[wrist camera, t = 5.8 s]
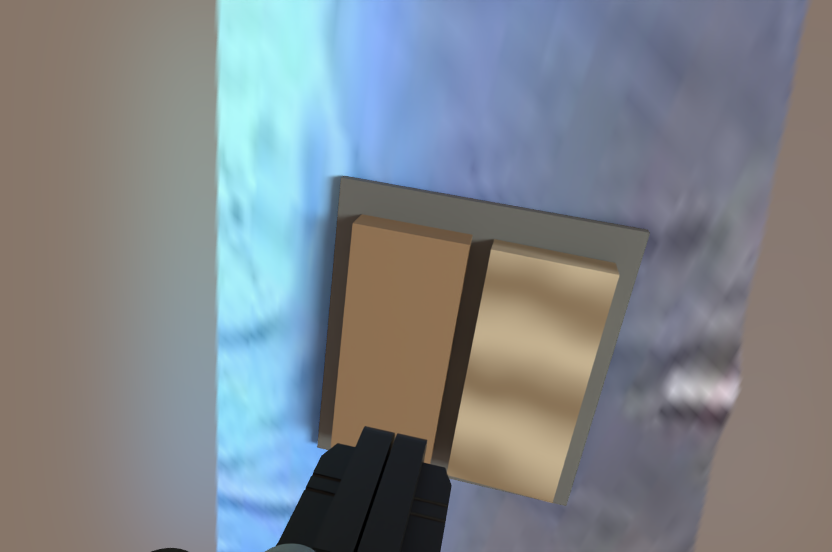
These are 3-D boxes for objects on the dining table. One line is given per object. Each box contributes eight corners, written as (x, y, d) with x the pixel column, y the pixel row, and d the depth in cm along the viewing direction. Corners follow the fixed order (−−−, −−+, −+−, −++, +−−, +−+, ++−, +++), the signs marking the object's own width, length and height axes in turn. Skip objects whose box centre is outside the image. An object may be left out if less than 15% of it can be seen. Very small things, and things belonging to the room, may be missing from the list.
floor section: (343, 175, 35) (330, 184, 32) (647, 229, 33) (657, 243, 30) (320, 442, 42) (307, 465, 40) (565, 499, 40) (568, 527, 38)
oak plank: (494, 239, 34) (491, 249, 32) (615, 263, 33) (619, 275, 31) (451, 455, 40) (446, 474, 38) (552, 482, 39) (552, 502, 37)
